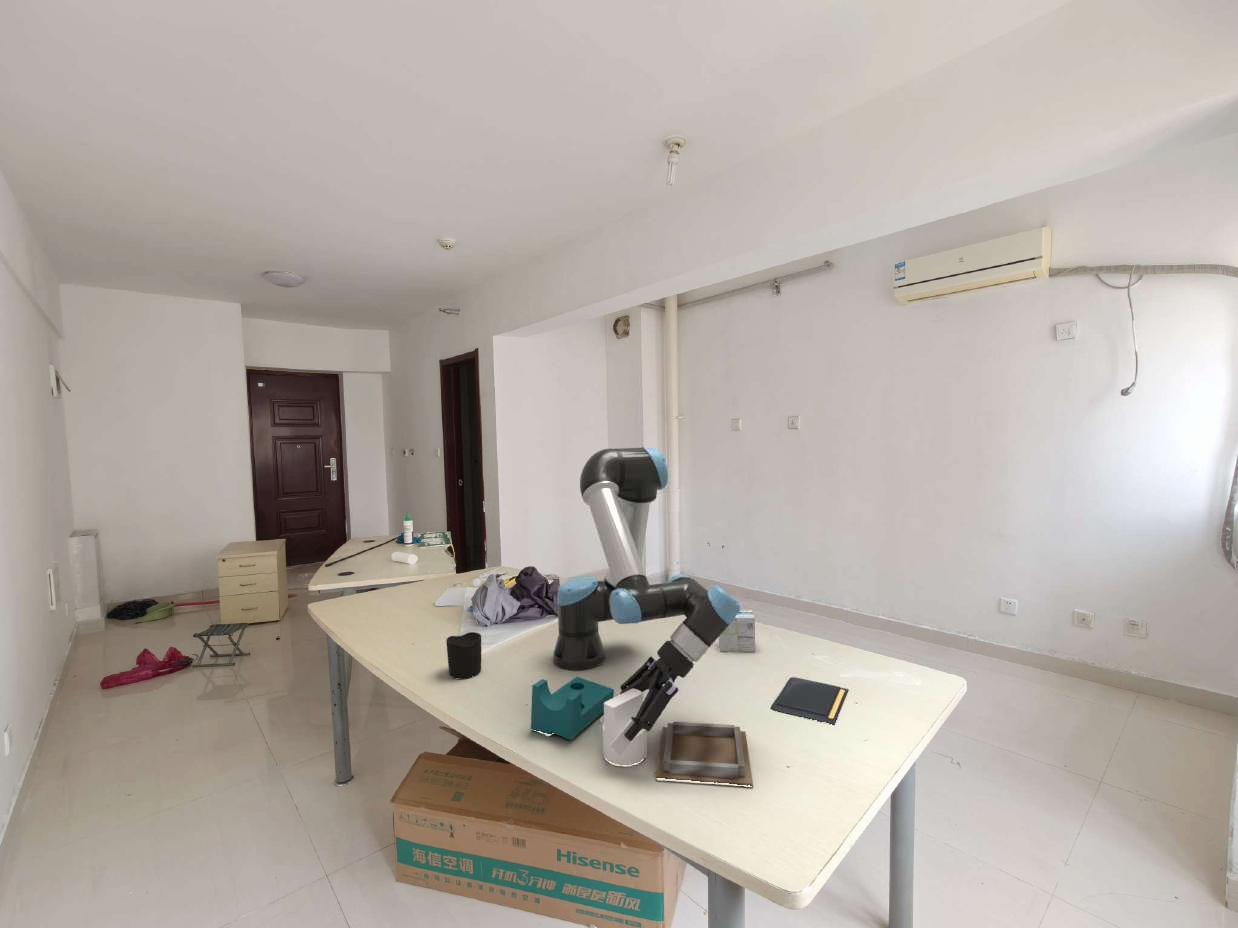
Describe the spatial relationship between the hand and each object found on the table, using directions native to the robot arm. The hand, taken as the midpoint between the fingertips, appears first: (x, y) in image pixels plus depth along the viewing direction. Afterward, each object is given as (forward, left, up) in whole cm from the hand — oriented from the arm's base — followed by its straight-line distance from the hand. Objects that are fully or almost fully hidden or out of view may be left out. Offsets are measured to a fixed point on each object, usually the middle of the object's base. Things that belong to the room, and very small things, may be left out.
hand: (609, 736), depth 113 cm
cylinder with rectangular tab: (+3, +1, -4) cm, 6 cm away
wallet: (+45, +29, -5) cm, 54 cm away
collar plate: (+19, +2, -4) cm, 20 cm away
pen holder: (-47, +35, -5) cm, 59 cm away
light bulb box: (+29, +60, -5) cm, 67 cm away
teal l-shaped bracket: (-11, +14, -5) cm, 19 cm away
